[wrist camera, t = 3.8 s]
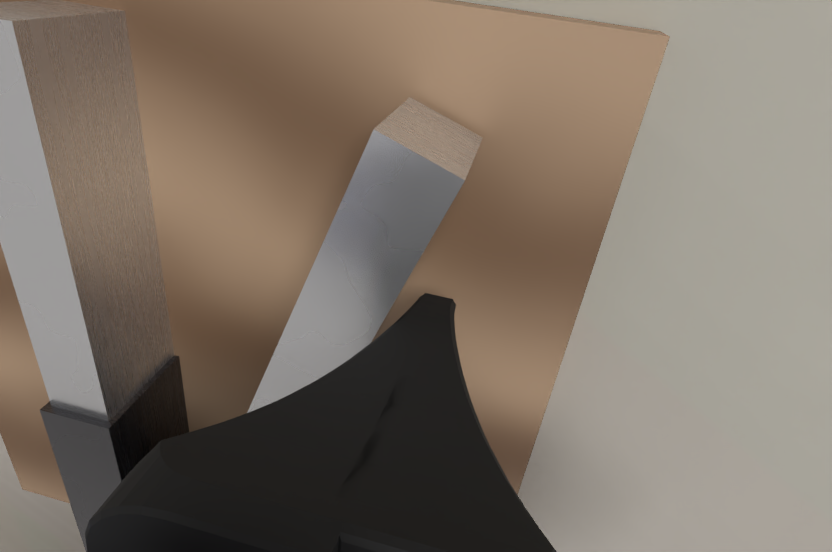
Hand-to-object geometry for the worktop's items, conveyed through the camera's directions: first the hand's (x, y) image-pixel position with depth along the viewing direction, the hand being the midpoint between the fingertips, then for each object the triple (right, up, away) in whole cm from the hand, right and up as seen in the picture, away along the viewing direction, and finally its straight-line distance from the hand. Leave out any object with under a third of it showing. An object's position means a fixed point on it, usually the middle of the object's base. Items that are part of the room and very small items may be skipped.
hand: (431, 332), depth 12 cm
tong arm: (-4, -2, +3) cm, 5 cm away
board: (-6, 0, +4) cm, 7 cm away
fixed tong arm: (-8, 0, +3) cm, 9 cm away
